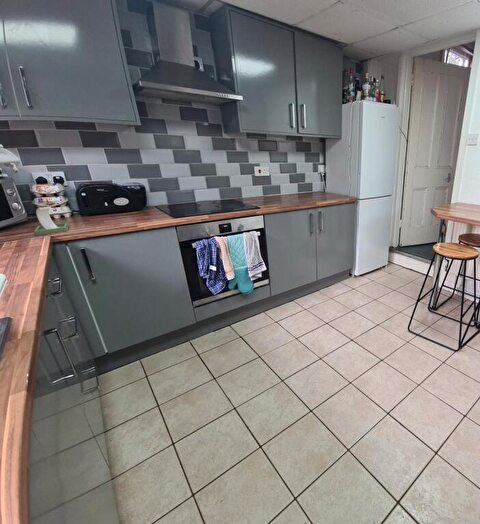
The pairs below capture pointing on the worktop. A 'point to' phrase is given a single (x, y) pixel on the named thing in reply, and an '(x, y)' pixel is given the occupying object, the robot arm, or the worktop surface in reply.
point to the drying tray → (62, 228)
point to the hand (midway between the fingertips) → (4, 173)
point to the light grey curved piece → (45, 218)
